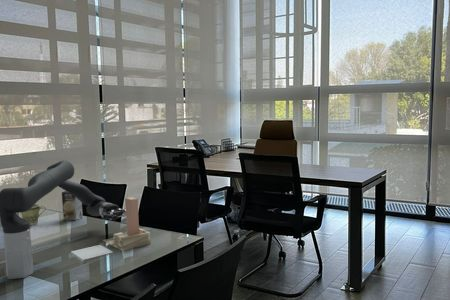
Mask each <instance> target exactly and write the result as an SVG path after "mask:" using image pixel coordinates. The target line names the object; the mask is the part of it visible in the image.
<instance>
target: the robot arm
mask: <svg viewBox="0 0 450 300" xmlns="http://www.w3.org/2000/svg"><path fill="white" fill-rule="evenodd" d="M74 174H75V167H74V165H73V163H72V162H70V161H69V160H61V161H58V162H55V163H53V164H51V165H49V166H48V167H47V168H46V169H45V170H44V171H41V172H39V173H37V174H35V175H33V176H32V177H31V178H30V179H29V180H28V183H27V186H26V187H10V188H9V187H8V188H7V187H6V188H2V189H1V190H0V225H1V228H2V234H3V236H2V237H3V245H4V247H3V248H4V256H5V257H4V259H5V260H4V261H5V270H6V278H7V280H14V279H15V280H17V279H25V278H27V277H29V276H31V275H33V273H34V261H33V259H34V258H33V248H32V236H31V225H30V223H29V221H28V220H26V219H23V217H22V216H19V215H18V214H17V213H19V214H20V213H21V212H26V211H28V210H29V209H31V208H32V207H33V206H34V205H35V204H37V202H39V201H40V200H42V199H43V198H44V197H45V196H47V195H48V194H50V193H51V192H52V191H53V190H55V189H56V188H57V187H59V188H61V189H62V190H64V191H67V192H69V193H71V194H72V195H74V196H75V197H76V198H77V199H78V200H80V201H81V202H82V205H85V206H86V213H87V214H89V215H90V216H93V217H100V216H101V219H103V220H105V221H108V220H110V221H117V220H118V218H120V217H121V218H123V217H124V218H126V208H125V209H124V208H120V207H119V205H117V204H114V203H111V202H107V201H106V199H105V198H104V197H102V196H100V195H97V194H95V193H93V192H92V191H91V190H90V189H89V188H88V187H87V186H85V185H83V184H81V183H79V182H78V183H77V182H73V181H70V179H72V178H73V177H74Z"/></svg>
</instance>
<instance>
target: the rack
mask: <svg viewBox="0 0 450 300" xmlns="http://www.w3.org/2000/svg"><path fill="white" fill-rule="evenodd" d="M102 241H103V242H105V243H107V244H108V245H110V246H112V247H114V248H115V249H118V250H120V251H126V250H130V249H133V248H137V247H142V246H146V245H150V244H151V232H150V231H148V230H145V229H143V228H140V227H139V234H137V235H132V236H128V237H124V238H122V248H121V247H119V246H117V245H115V244H113V237H111V238H107V239H102Z"/></svg>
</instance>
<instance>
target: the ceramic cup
mask: <svg viewBox="0 0 450 300" xmlns="http://www.w3.org/2000/svg"><path fill="white" fill-rule="evenodd" d="M42 208H44V209H43V211H41V213H40V214H39V212H40V210H41V209H42ZM45 211H46V207H45V206H44V205H40V204H37V203H36V204H35V205H34V206H33V207H32V208H31V209H29V210H28V211H26V212H20V214H21V218H23V219H26V220H28V221H29V223H30V226H34V225H37V224H38V223H39V218H40V216H42V214H43V213H44V212H45Z"/></svg>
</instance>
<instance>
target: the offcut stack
mask: <svg viewBox="0 0 450 300" xmlns="http://www.w3.org/2000/svg"><path fill="white" fill-rule="evenodd" d="M124 237H128V235H127V233H124V232H117V233H113V237H112V238H113V244H115V245H117V246H119V247H121V248H122V238H124Z"/></svg>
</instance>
